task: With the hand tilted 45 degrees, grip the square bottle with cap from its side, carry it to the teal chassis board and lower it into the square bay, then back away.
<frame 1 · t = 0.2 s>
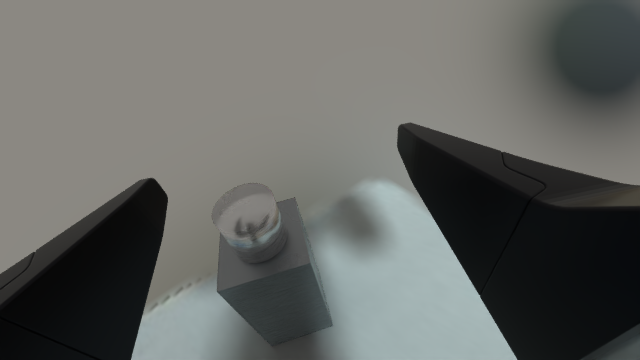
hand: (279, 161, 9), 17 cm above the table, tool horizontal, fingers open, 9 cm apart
square bottle with cap: (297, 304, 22), on the table
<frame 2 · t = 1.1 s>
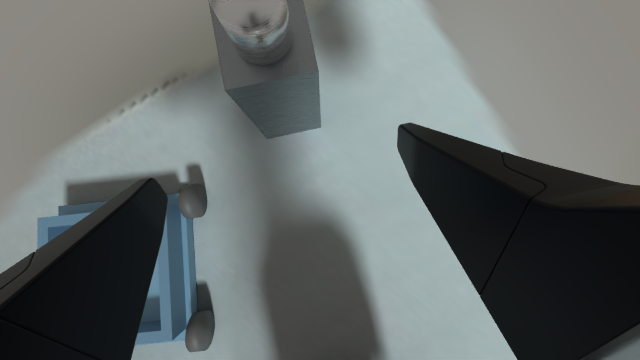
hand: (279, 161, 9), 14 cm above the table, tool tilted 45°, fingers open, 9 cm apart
square bottle with cap: (288, 107, 24), on the table
chassis: (132, 268, 22), on the table
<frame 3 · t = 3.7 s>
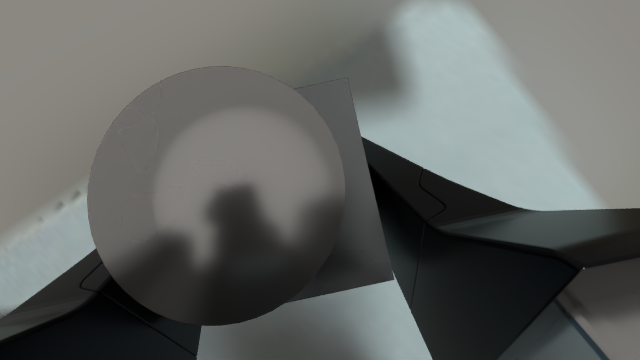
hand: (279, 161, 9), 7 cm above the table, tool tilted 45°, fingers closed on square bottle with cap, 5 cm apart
square bottle with cap: (302, 200, 16), on the table, touching gripper
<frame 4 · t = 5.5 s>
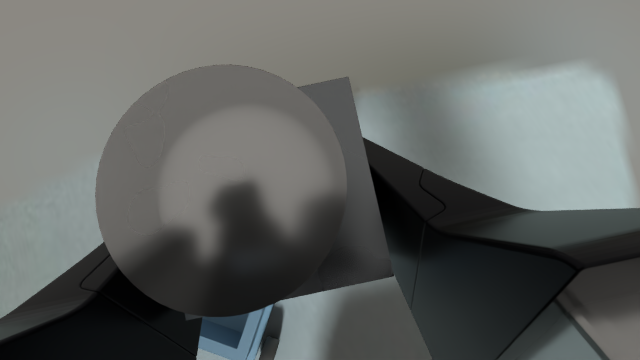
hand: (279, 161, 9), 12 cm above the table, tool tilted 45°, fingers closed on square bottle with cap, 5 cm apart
square bottle with cap: (303, 199, 16), point 5 cm above the table, touching gripper
chassis: (218, 260, 21), on the table
when the fingers open (9 cm above the table, at t = 7.2 s): square bottle with cap stays where it is, resting on chassis.
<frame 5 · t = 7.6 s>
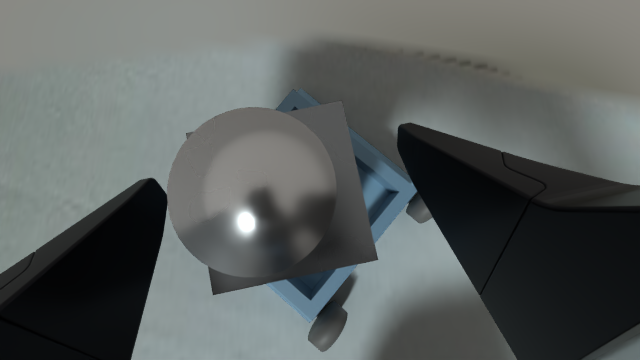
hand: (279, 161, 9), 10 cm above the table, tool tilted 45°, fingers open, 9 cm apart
square bottle with cap: (304, 199, 18), point 1 cm above the table, touching chassis
chassis: (305, 200, 19), on the table
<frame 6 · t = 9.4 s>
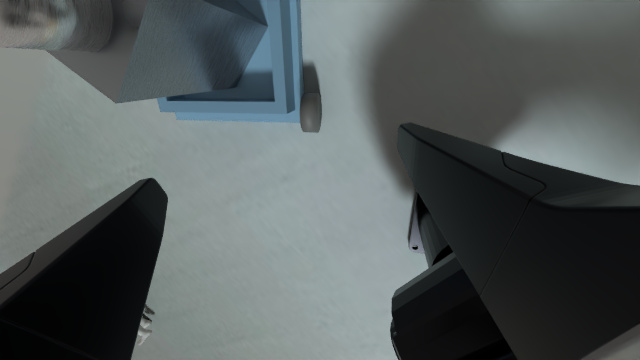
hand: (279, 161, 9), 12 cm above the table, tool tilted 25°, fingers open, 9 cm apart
square bottle with cap: (222, 36, 18), point 1 cm above the table, touching chassis
chassis: (231, 38, 19), on the table
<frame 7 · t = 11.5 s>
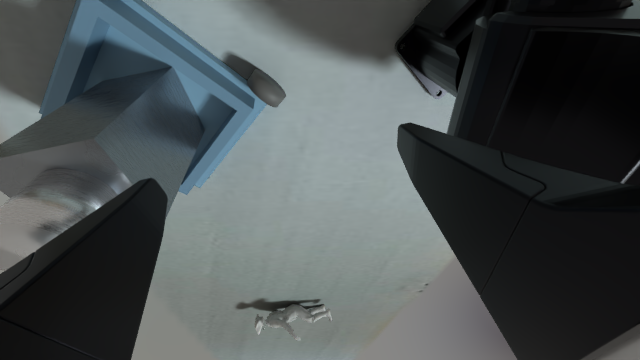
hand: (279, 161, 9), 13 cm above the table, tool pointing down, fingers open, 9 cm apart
square bottle with cap: (157, 107, 19), point 1 cm above the table, touching chassis
chassis: (163, 102, 20), on the table
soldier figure: (293, 304, 44), on the table
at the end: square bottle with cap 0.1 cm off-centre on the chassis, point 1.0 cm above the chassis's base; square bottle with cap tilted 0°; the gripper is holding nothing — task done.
